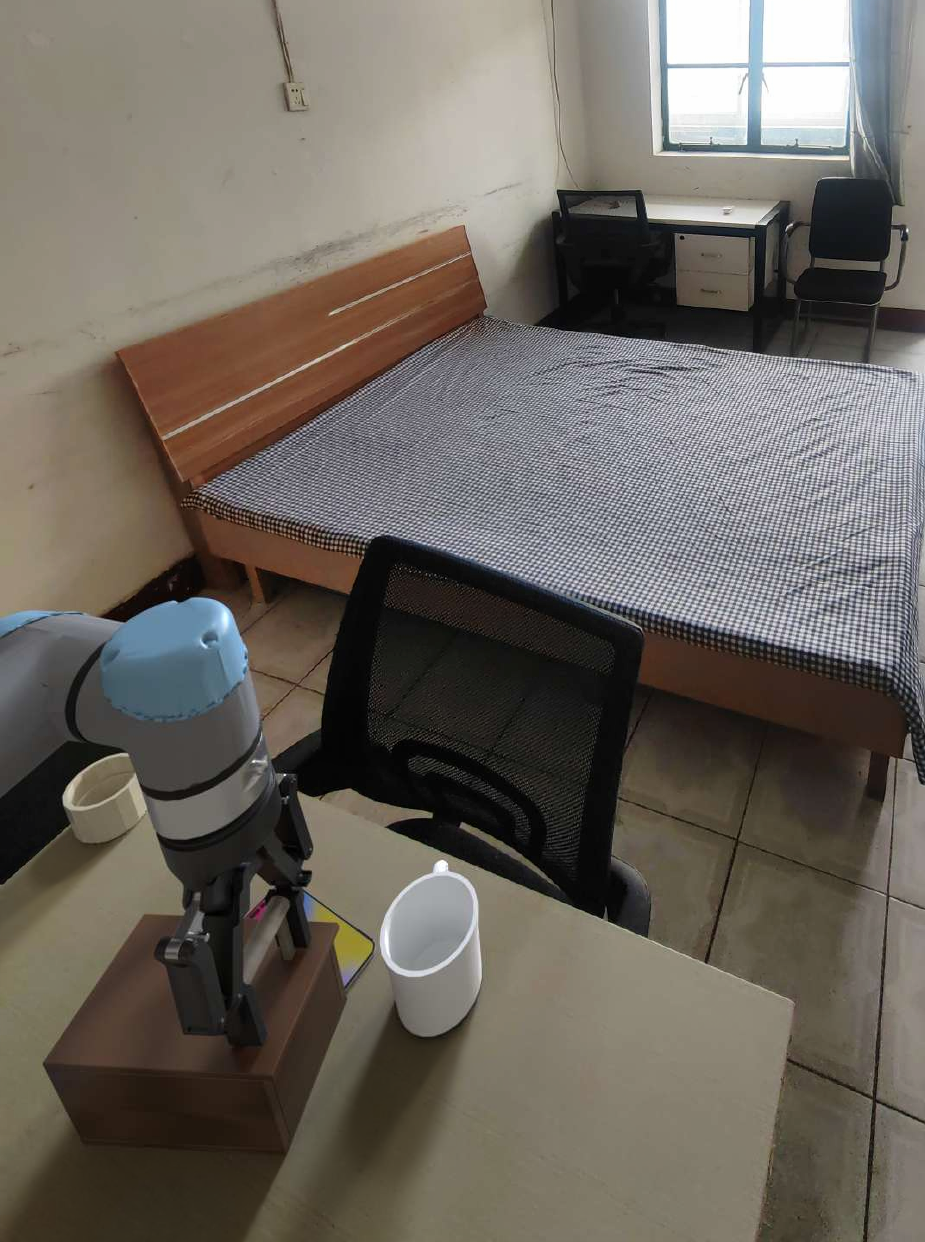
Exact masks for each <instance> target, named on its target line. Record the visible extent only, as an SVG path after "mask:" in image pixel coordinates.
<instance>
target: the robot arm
mask: <svg viewBox="0 0 925 1242" xmlns="http://www.w3.org/2000/svg"><path fill="white" fill-rule="evenodd" d="M249 663H250V662H249V652H248V649H247V646H246V643H244V641H243V638H242V637H241V635H240V632H239V629H238V626H237V623H236V620H235V618H234V614H233V613H232V611H231V610H230V609H229V608H228V607H227V606H226V605H225V604H223V603H222V602H220V601H218V600H215V599H213V598H207V597H190V598H189V599H186V600H184V601H182V602H177V601H176V600H171V601H167V602H166V601H165V602H163V603H160V604H157V605H155V606H153V607H150V608H148V609H146V610H144V611H142V612H140V613H138V614H136V615H135V616H133V617H131V618H130V619H128V620H127V621H126V622H123V621H122V622H121V621H117V620H112V619H107V618H103V617H99V616H94V615H91V614H89V613H86V612H80V611H79V612H78V611H60V610H55V611H49V610H38V609H37V610H36V609H33V610H25V611H20V612H17V613H13V614H10V615H7V616H5V617H3V618H0V799H1V798H2V797H4V796H5V795H6V794H7V793H8V792H9V791H11V789H13V788H14V787H15V786H16V785H17V784H19V783H20V782H21V781H22V780H23V779H25V777H27V776H28V775H29V774H30V773H32V772H33V771H34V770H35V769H36V768H37V767H38V766H40V765H41V764H42V763H43V762H44V761H45V760H47V759H48V758H49V757H50V756H51V755H52V754H53V753H55V752H56V751H57V750H58V749H60V747H61V746H63V745H65V743H66V742H69V741H71V742H76V743H77V742H78V743H84V744H90V745H96V746H101V745H102V746H106V747H107V746H108V747H114V748H118V749H121V750H123V751H125V753H127V754H128V755H129V758H130V760H131V763H132V765H133V768H134V771H135V773H136V776H137V779H138V782H139V786H140V788H141V791H142V794H143V797H144V800H145V803H146V807H147V810H146V811H147V813H148V816H149V818H150V822H151V825H152V828H153V830H154V831H155V835H156V838H157V841H158V844H159V847H160V851H161V853H162V856H163V858H164V862H165V864H166V866H167V869H168V870H169V871H170V872H171V873H172V874H173V875H174V877H175V878H177V880H178V881H179V882H180V883H181V884H182V887H183V889H182V899H181V905H182V908H183V910H184V914H183V915H182V916H183V917H182V919H181V922H180V924H179V926H178V928H177V930H176V932H175V933H174V934H173V936H164V937H162V938H161V939H160V940H159V942H158V944H157V946H156V948H155V951H154V958H155V959H156V960H157V961H159V962H161V963H162V964H164V965H165V966H166V970H167V974H168V977H169V981H170V985H171V989H172V993H173V997H174V1001H175V1004H176V1008H177V1012H178V1016H179V1020H180V1024H181V1028H182V1031H183V1034H184V1035H201V1036H218V1035H223V1036H226V1037H227V1040H228V1043H229V1045H243V1046H263V1043H264V1041H265V1039H266V1037H267V1035H268V1034H267V1031H266V1027H265V1024H264V1021H263V1018H262V1014H261V1011H260V1008H259V1005H258V1001H257V998H256V995H255V992H254V988H253V985H252V984H243V924H244V917H245V916H246V915H247V914H248V913H249V912H250V911H251V883H252V881H253V878H254V877H255V875H257V876H258V877H259V878H260V879H261V880H263V881H264V883H266V884H267V885H268V886H270V887H274V886H275V887H276V889H273V888H269V889H268V891H267V893H266V895H264V897H265V898H264V897H263V898H264V899H265V903H266V906H267V904H268V902H269V901H270V899H271V898H272V897H273V896H283V897H285V898H287V899H288V900H289V901H290V907H289V909H288V911H287V913H286V917H287V921H288V925H289V929H290V932H291V936H292V940H293V944H294V947H295V948H308V946H309V944H310V941H311V939H312V937H311V933H310V929H309V925H308V921H307V917H306V913H305V909H304V905H303V903H304V892H303V889H304V888H307V887H309V885H310V884H311V882H312V879H313V871H312V869H311V870H310V869H303V868H302V867H303V864H304V862H305V861H310V859H311V857H312V856H313V855H312V854H313V853H314V844H313V840H312V837H311V834H310V831H309V828H308V825H307V822H306V817H305V815H304V812H303V809H302V806H301V802H300V800H299V796H298V774H296V773H279V772H277V773H276V772H275V768H274V766H273V765H272V764H273V763H272V760H271V756H270V752H269V749H268V745H267V741H266V737H265V733H264V730H263V729H264V728H263V722H262V718H261V713H260V709H259V704H258V701H257V696H256V692H255V688H254V683H253V680H252V674H251V671H250V666H249ZM302 888H303V889H302ZM275 938H276V942H277V946H278V947H281V946H280V943H279V939H278V936H277V933H276V935H275Z"/></svg>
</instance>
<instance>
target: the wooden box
mask: <svg viewBox="0 0 925 1242" xmlns="http://www.w3.org/2000/svg"><path fill="white" fill-rule="evenodd" d="M347 1001H348V997H347V991H346V992H345V988H344V984H343V980H342V976H341V971H340V967H339V963H338V959H337V954H336V950H335V946H334V942H333V944H332V946H331V949H330V951H329V953H328V956H327V958H326V960H325V963H324V965H323V967H322V970H321V972H320V974H319V976H318V979H317V981H316V983H315V986H314V988H313V990H312V993H311V995H310V997H309V1000H308V1002H307V1004H306V1006H305V1009H304V1011H303V1013H302V1016H301V1018H300V1020H299V1023H298V1025H297V1027H296V1030H295V1032H294V1034H293V1037H292V1039H291V1041H290V1043H289V1046H288V1048H287V1050H286V1053H285V1055H284V1057H283V1060H282V1062H281V1064H280V1067H279V1069H278V1071H277V1073H276V1076H275V1078H274V1080H273V1081H264V1080H245V1079H225V1078H206V1077H186V1076H167V1075H147V1074H128V1073H108V1072H89V1071H69V1070H50V1069H44V1070H45V1073H46V1075H47V1076H48V1079H49V1081H50V1082H51V1084H52V1086H53V1088H54V1091H55V1092H56V1094H57V1097H58V1098H59V1100H60V1102H61V1104H62V1106H63V1108H64V1110H65V1113H66V1114H67V1116H68V1118H69V1120H70V1122H71V1124H72V1126H73V1128H74V1130H75V1132H76V1135H77V1136H78V1138H79V1140H80V1143H81V1145H84V1146H85V1145H86V1146H87V1145H88V1146H104V1147H105V1146H106V1147H122V1148H123V1147H125V1148H140V1149H141V1148H143V1149H158V1150H159V1149H160V1150H161V1149H162V1150H177V1151H178V1150H179V1151H180V1150H181V1151H198V1152H216V1153H217V1152H218V1153H219V1152H220V1153H233V1154H234V1153H235V1154H236V1153H237V1154H251V1155H252V1154H253V1155H254V1154H255V1155H271V1156H272V1155H273V1156H287V1155H288V1152H289V1150H290V1147H291V1144H292V1142H293V1140H294V1137H295V1134H296V1132H297V1130H298V1127H299V1125H300V1122H301V1118H302V1116H303V1114H304V1111H305V1109H306V1107H307V1103H308V1102H309V1099H310V1096H311V1093H312V1091H313V1089H314V1085H315V1084H316V1080H317V1078H318V1075H319V1073H320V1070H321V1068H322V1065H323V1063H324V1060H325V1058H326V1056H327V1052H328V1049H329V1047H330V1045H331V1042H332V1040H333V1037H334V1034H335V1031H336V1029H337V1026H338V1024H339V1021H340V1019H341V1017H342V1015H343V1011H344V1009H345V1007H346V1003H347Z"/></svg>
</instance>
